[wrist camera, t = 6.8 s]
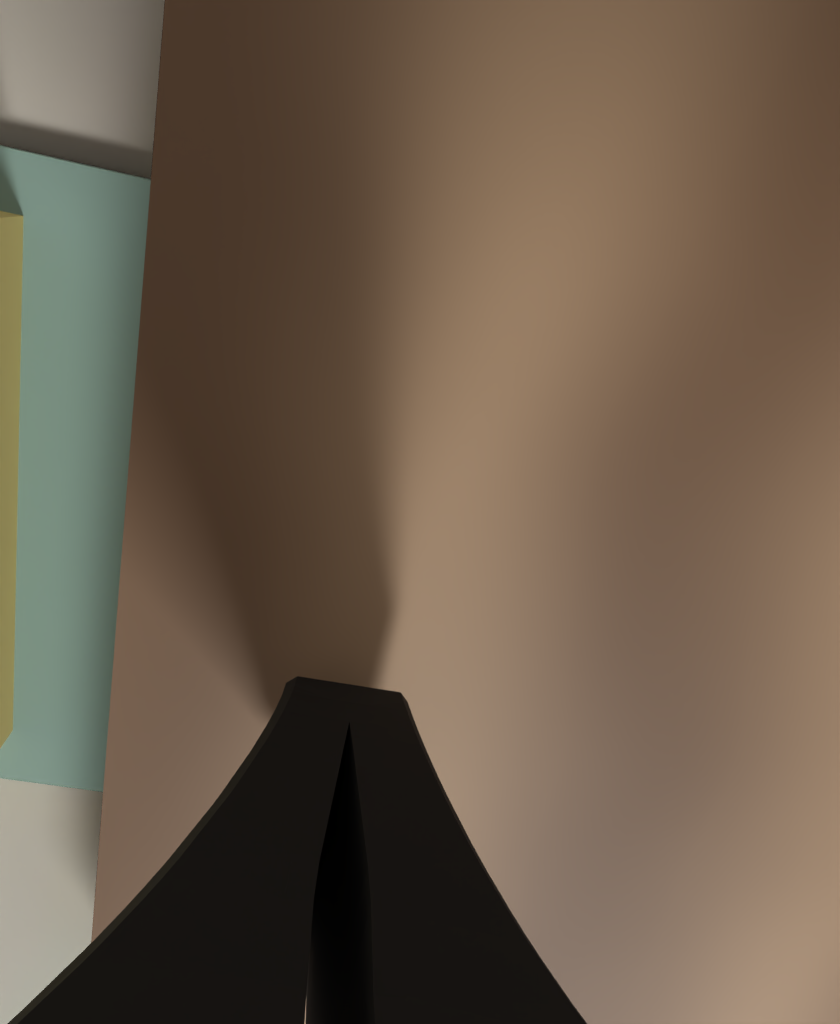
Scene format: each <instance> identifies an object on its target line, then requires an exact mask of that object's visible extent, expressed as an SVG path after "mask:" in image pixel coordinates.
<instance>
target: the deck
mask: <svg viewBox="0 0 840 1024" xmlns="http://www.w3.org/2000/svg"><path fill="white" fill-rule="evenodd" d="M297 676H300V677H306V678H312V679H319V680H325V681H332V682H338V683H344V684H351V685H357V686H364V687H370V688H377V689H383V690H389V691H396V692H401V693H402V695H403V696H404V698H405V699H406V700H407V702H408V704H409V707H410V710H411V713H412V716H413V718H414V721H415V724H416V726H417V729H418V731H419V734H420V736H421V739H422V741H423V743H424V746H425V748H426V750H427V753H428V755H429V757H430V759H431V762H432V764H433V766H434V768H435V771H436V773H437V775H438V777H439V779H440V781H441V784H442V786H443V788H444V790H445V792H446V794H447V796H448V798H449V800H450V802H451V804H452V806H453V808H454V810H455V812H456V814H457V816H458V818H459V820H460V821H461V823H462V825H463V827H464V829H465V831H466V833H467V835H468V837H469V839H470V841H471V843H472V845H473V846H474V848H475V850H476V852H477V854H478V856H479V857H480V859H481V861H482V863H483V865H484V866H485V868H486V870H487V872H488V873H489V875H490V877H491V878H492V880H493V882H494V884H495V885H496V887H497V889H498V890H499V892H500V894H501V895H502V897H503V899H504V900H505V902H506V904H507V906H508V907H509V909H510V911H511V912H512V914H513V915H514V917H515V919H516V920H517V922H518V923H519V925H520V927H521V928H522V930H523V931H524V933H525V935H526V936H527V938H528V939H529V941H530V942H531V944H532V945H533V947H534V948H535V950H536V951H537V953H538V954H539V956H540V957H541V959H542V960H543V962H544V963H545V965H546V966H547V968H548V969H549V971H550V972H551V973H552V975H553V976H554V978H555V979H556V981H557V982H558V984H559V985H560V986H561V988H562V989H563V991H564V992H565V994H566V995H567V997H568V998H569V999H570V1001H571V1002H572V1004H573V1005H574V1007H575V1008H576V1009H577V1011H578V1012H579V1013H580V1015H581V1016H582V1017H583V1019H584V1020H585V1021H586V1023H587V1024H840V0H165V4H164V17H163V30H162V43H161V56H160V69H159V81H158V94H157V107H156V120H155V133H154V146H153V158H152V171H151V184H150V197H149V210H148V222H147V235H146V248H145V261H144V274H143V287H142V299H141V312H140V325H139V338H138V351H137V364H136V376H135V389H134V402H133V415H132V428H131V441H130V453H129V466H128V479H127V492H126V505H125V517H124V530H123V543H122V556H121V569H120V582H119V594H118V607H117V620H116V633H115V646H114V659H113V671H112V684H111V697H110V710H109V723H108V736H107V748H106V761H105V774H104V787H103V800H102V813H101V825H100V838H99V851H98V864H97V877H96V889H95V902H94V915H93V928H92V941H91V943H92V942H93V941H94V940H95V939H96V938H97V937H98V936H99V935H100V934H101V933H102V931H103V930H104V929H105V928H106V927H107V926H108V925H109V924H110V923H111V922H112V921H113V920H114V919H115V918H116V917H117V916H118V915H119V914H120V913H121V912H122V910H123V909H124V908H125V907H126V906H127V905H128V904H129V903H130V902H131V901H132V900H133V899H134V898H135V896H136V895H137V894H138V893H139V892H140V891H141V890H142V889H143V888H144V887H145V885H146V884H147V883H148V882H149V881H150V880H151V879H152V877H153V876H154V875H155V874H156V873H157V872H158V871H159V870H160V868H161V867H162V866H163V865H164V864H165V863H166V861H167V860H168V859H169V858H170V857H171V855H172V854H173V853H174V852H175V851H176V849H177V848H178V847H179V846H180V844H181V843H182V842H183V841H184V839H185V838H186V837H187V836H188V834H189V833H190V832H191V831H192V830H193V828H194V827H195V826H196V825H197V823H198V822H199V821H200V820H201V818H202V817H203V816H204V815H205V813H206V812H207V811H208V810H209V809H210V807H211V806H212V805H213V803H214V802H215V801H216V799H217V798H218V797H219V795H220V794H221V793H222V791H223V790H224V788H225V787H226V786H227V784H228V783H229V781H230V780H231V778H232V777H233V776H234V774H235V773H236V771H237V770H238V768H239V767H240V765H241V764H242V763H243V761H244V760H245V758H246V757H247V755H248V754H249V753H250V751H251V750H252V748H253V746H254V745H255V743H256V742H257V740H258V738H259V737H260V735H261V733H262V732H263V730H264V729H265V727H266V725H267V723H268V722H269V720H270V718H271V716H272V714H273V713H274V711H275V709H276V707H277V705H278V702H279V700H280V698H281V696H282V694H283V691H284V687H285V684H286V683H287V682H288V681H290V680H292V679H293V678H295V677H297ZM304 1024H306V1007H305V1022H304Z"/></svg>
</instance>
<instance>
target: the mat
mask: <svg viewBox="0 0 840 1024" xmlns="http://www.w3.org/2000/svg"><path fill="white" fill-rule="evenodd" d="M150 184H151V179H148V178H143V177H139V176H135V175H130V174H126V173H121V172H117V171H113V170H108V169H104V168H100V167H95V166H91V165H86V164H82V163H78V162H73V161H69V160H64V159H60V158H56V157H51V156H47V155H42V154H38V153H34V152H29V151H25V150H20V149H16V148H12V147H7V146H3V145H0V211H4V212H8V213H13V214H17V215H22V216H23V264H22V312H21V360H20V409H19V457H18V505H17V553H16V602H15V650H14V698H13V731H12V732H11V734H10V735H9V737H8V738H7V739H6V741H5V742H4V744H3V745H2V747H1V748H0V778H3V779H10V780H18V781H25V782H33V783H40V784H48V785H55V786H62V787H70V788H77V789H85V790H92V791H100V792H103V787H104V774H105V761H106V748H107V736H108V723H109V710H110V697H111V684H112V671H113V659H114V646H115V633H116V620H117V607H118V594H119V582H120V569H121V556H122V543H123V530H124V517H125V505H126V492H127V479H128V466H129V453H130V441H131V428H132V415H133V402H134V389H135V376H136V364H137V351H138V338H139V325H140V312H141V299H142V287H143V274H144V261H145V248H146V235H147V222H148V210H149V197H150Z"/></svg>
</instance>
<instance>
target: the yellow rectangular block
mask: <svg viewBox="0 0 840 1024" xmlns="http://www.w3.org/2000/svg"><path fill="white" fill-rule="evenodd" d="M22 264H23V216H22V215H17V214H13V213H8V212H4V211H0V748H1V747H2V745H3V744H4V742H5V741H6V739H7V738H8V737H9V735H10V734H11V732H12V731H13V698H14V650H15V602H16V553H17V505H18V457H19V409H20V360H21V312H22Z"/></svg>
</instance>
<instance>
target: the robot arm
mask: <svg viewBox="0 0 840 1024" xmlns="http://www.w3.org/2000/svg"><path fill="white" fill-rule="evenodd" d="M305 1007H306V1024H587V1023H586V1021H585V1020H584V1019H583V1017H582V1016H581V1015H580V1013H579V1012H578V1011H577V1009H576V1008H575V1007H574V1005H573V1004H572V1002H571V1001H570V999H569V998H568V997H567V995H566V994H565V992H564V991H563V989H562V988H561V986H560V985H559V984H558V982H557V981H556V979H555V978H554V976H553V975H552V973H551V972H550V971H549V969H548V968H547V966H546V965H545V963H544V962H543V960H542V959H541V957H540V956H539V954H538V953H537V951H536V950H535V948H534V947H533V945H532V944H531V942H530V941H529V939H528V938H527V936H526V935H525V933H524V931H523V930H522V928H521V927H520V925H519V923H518V922H517V920H516V919H515V917H514V915H513V914H512V912H511V911H510V909H509V907H508V906H507V904H506V902H505V900H504V899H503V897H502V895H501V894H500V892H499V890H498V889H497V887H496V885H495V884H494V882H493V880H492V878H491V877H490V875H489V873H488V872H487V870H486V868H485V866H484V865H483V863H482V861H481V859H480V857H479V856H478V854H477V852H476V850H475V848H474V846H473V845H472V843H471V841H470V839H469V837H468V835H467V833H466V831H465V829H464V827H463V825H462V823H461V821H460V820H459V818H458V816H457V814H456V812H455V810H454V808H453V806H452V804H451V802H450V800H449V798H448V796H447V794H446V792H445V790H444V788H443V786H442V784H441V781H440V779H439V777H438V775H437V773H436V771H435V768H434V766H433V764H432V762H431V759H430V757H429V755H428V753H427V750H426V748H425V746H424V743H423V741H422V739H421V736H420V734H419V731H418V729H417V726H416V724H415V721H414V718H413V716H412V713H411V710H410V707H409V704H408V702H407V700H406V699H405V698H404V696H403V695H402V693H401V692H396V691H389V690H383V689H377V688H370V687H364V686H357V685H351V684H344V683H338V682H332V681H325V680H319V679H312V678H306V677H300V676H297V677H295V678H293V679H292V680H290V681H288V682H287V683H286V684H285V687H284V691H283V694H282V696H281V698H280V700H279V702H278V705H277V707H276V709H275V711H274V713H273V714H272V716H271V718H270V720H269V722H268V723H267V725H266V727H265V729H264V730H263V732H262V733H261V735H260V737H259V738H258V740H257V742H256V743H255V745H254V746H253V748H252V750H251V751H250V753H249V754H248V755H247V757H246V758H245V760H244V761H243V763H242V764H241V765H240V767H239V768H238V770H237V771H236V773H235V774H234V776H233V777H232V778H231V780H230V781H229V783H228V784H227V786H226V787H225V788H224V790H223V791H222V793H221V794H220V795H219V797H218V798H217V799H216V801H215V802H214V803H213V805H212V806H211V807H210V809H209V810H208V811H207V812H206V813H205V815H204V816H203V817H202V818H201V820H200V821H199V822H198V823H197V825H196V826H195V827H194V828H193V830H192V831H191V832H190V833H189V834H188V836H187V837H186V838H185V839H184V841H183V842H182V843H181V844H180V846H179V847H178V848H177V849H176V851H175V852H174V853H173V854H172V855H171V857H170V858H169V859H168V860H167V861H166V863H165V864H164V865H163V866H162V867H161V868H160V870H159V871H158V872H157V873H156V874H155V875H154V876H153V877H152V879H151V880H150V881H149V882H148V883H147V884H146V885H145V887H144V888H143V889H142V890H141V891H140V892H139V893H138V894H137V895H136V896H135V898H134V899H133V900H132V901H131V902H130V903H129V904H128V905H127V906H126V907H125V908H124V909H123V910H122V912H121V913H120V914H119V915H118V916H117V917H116V918H115V919H114V920H113V921H112V922H111V923H110V924H109V925H108V926H107V927H106V928H105V929H104V930H103V931H102V933H101V934H100V935H99V936H98V937H97V938H96V939H95V940H94V941H93V942H92V943H91V944H90V945H89V946H88V947H87V948H86V949H85V950H84V951H83V952H82V953H81V954H80V955H79V956H78V957H77V958H76V959H75V960H74V961H73V962H72V963H71V964H70V965H68V966H67V967H66V968H65V969H64V970H63V971H62V972H61V973H60V974H59V975H58V976H57V977H56V978H55V979H54V980H53V981H52V982H51V983H50V984H49V985H48V986H47V987H46V988H45V989H44V990H43V991H42V992H41V993H40V994H39V995H37V996H36V997H35V998H34V999H33V1000H32V1001H31V1002H30V1003H29V1004H28V1005H27V1006H26V1007H25V1008H24V1009H23V1010H22V1011H21V1012H20V1013H19V1014H18V1015H16V1016H15V1017H14V1018H13V1019H12V1020H11V1021H10V1022H9V1023H8V1024H304V1022H305Z"/></svg>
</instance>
